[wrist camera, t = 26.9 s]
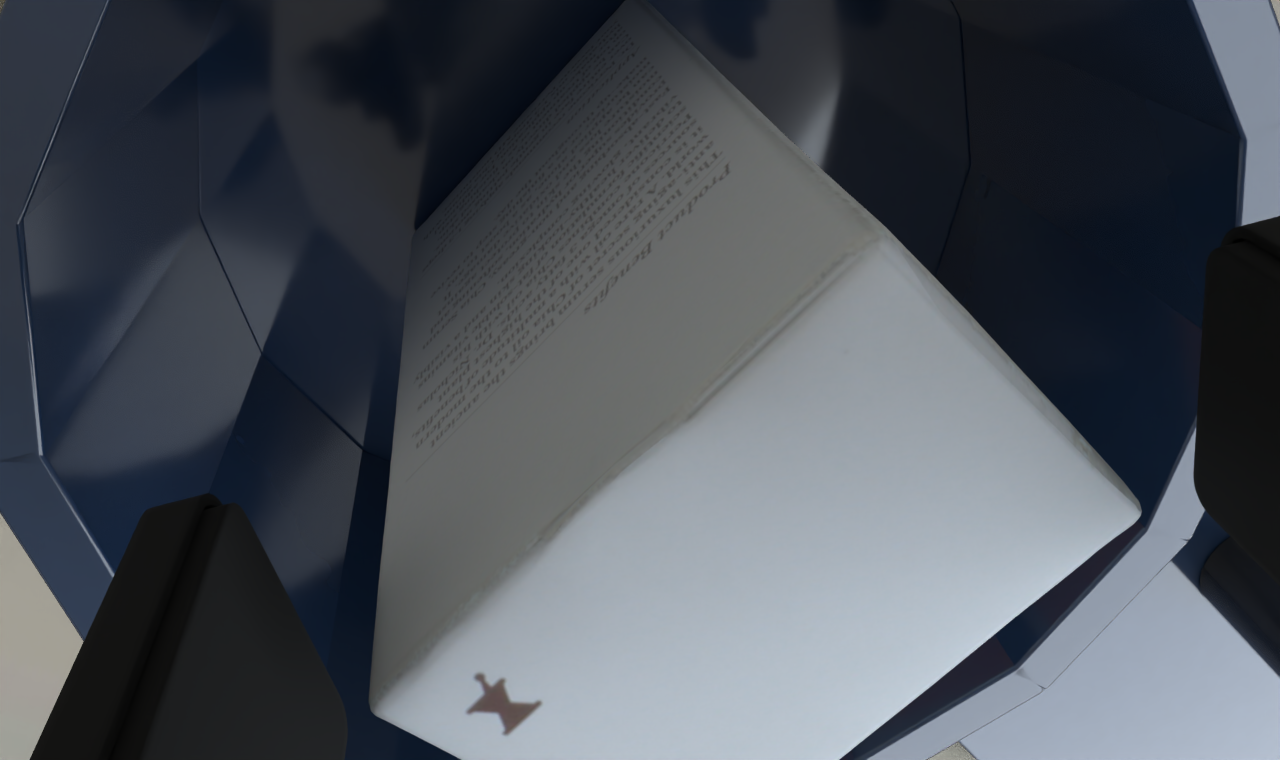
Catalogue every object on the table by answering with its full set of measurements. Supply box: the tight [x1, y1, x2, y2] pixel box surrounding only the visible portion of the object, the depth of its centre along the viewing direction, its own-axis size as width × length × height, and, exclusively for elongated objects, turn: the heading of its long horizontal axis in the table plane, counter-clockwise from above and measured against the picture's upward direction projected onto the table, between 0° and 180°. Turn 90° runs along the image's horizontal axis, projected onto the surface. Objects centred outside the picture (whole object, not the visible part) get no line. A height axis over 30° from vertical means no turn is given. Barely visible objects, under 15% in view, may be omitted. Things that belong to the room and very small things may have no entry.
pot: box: [0, 0, 1280, 760], centre depth 16 cm, size 16×21×8 cm
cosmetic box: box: [369, 0, 1142, 760], centre depth 14 cm, size 6×4×12 cm
